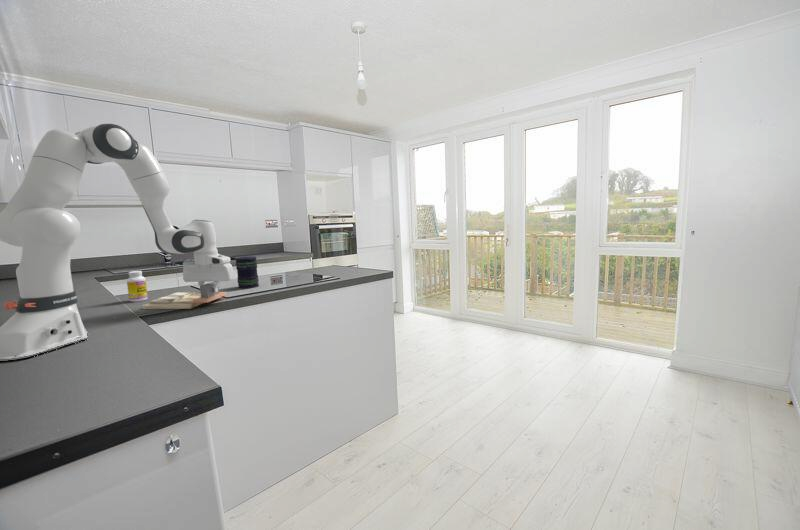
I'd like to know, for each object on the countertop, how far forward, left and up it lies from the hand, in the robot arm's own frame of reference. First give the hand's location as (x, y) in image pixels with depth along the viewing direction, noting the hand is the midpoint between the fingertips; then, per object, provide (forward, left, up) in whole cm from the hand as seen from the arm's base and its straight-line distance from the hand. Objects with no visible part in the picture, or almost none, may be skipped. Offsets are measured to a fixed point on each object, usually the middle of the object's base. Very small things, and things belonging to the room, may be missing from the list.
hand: (210, 291), depth 147 cm
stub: (0, 0, -3) cm, 3 cm away
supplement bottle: (+5, +36, -5) cm, 37 cm away
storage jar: (+31, -1, -5) cm, 31 cm away
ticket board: (0, +12, -4) cm, 13 cm away
